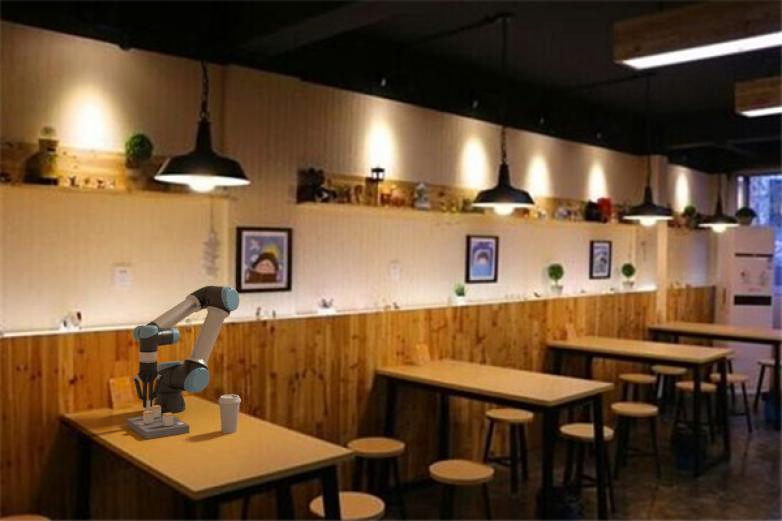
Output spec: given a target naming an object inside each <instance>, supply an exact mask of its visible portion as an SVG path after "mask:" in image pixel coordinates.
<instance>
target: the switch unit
mask: <svg viewBox="0 0 782 521" xmlns="http://www.w3.org/2000/svg"><path fill="white" fill-rule="evenodd" d="M126 427H128V428H130V429H131V430H132V431H134V432H136V433H137V434H138V435H139V436H141V437H142V438H144V439H146V440H152V439H158V438H163V437H164V438H165V437H166V438H167V437H171V436H177V435H183V434H184V435H185V434H189V433H190V425H189V424H187V423H185V422H184V421H182V420H180V419H179V418H177V417H175V416H174V415H173V425H171V426H165V425H163V413H161V417H157V418H154V423H149V424H145V423H144V422H143V415H142V416H136V417H128V418H126Z"/></svg>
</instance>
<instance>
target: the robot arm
mask: <svg viewBox="0 0 782 521" xmlns="http://www.w3.org/2000/svg"><path fill="white" fill-rule="evenodd" d="M239 295H240V294H239V293H238V291H237V290H236V288H234V287H231V286H219V285H205V286H203V287H201V288H198V289H197V290H195V291H193V292H191V293H190V294H188V295H186V297H185V299H184V300H183V301H181V302H179V303H178V304H176V305H175V306H173V307H172V308H170V309H168V310H167V311H165V312H164V313H162V314H160V315H159V316H157V317H156V318H154V319H153V320H151V321H150V322H147V324H145V325H143V324H141V325H137V326H135V328H134V329H133V332H132V337H133V339H134V340H135V341H137V342H138V343H139V350H138V351H139V352H138V353H139V355H138V358H139V359H138V360H139V363H138V374H137V375H136V377H132V381H133V383H134V385H135V390H136V393H137V397H138V399H139V400H142V408H144V411H150V410H151V407H152V406H154V405H159V406H161V414H163V413H172V414H174V413H180V412H184V411H185V410H186V402H185V398H184V396H183V391H184V392H187V393H200V392H202V391H203V390H205V389H206V387H207V386H208V385H209V382H210V372H209V371H208V370H209V366H208V361H209V358H211V357H210V356H211V353H212V351H213V349H214V346H215V344H216V341H217V338H218V337H219V333H220V331H221V328H222V326H223V323H224V321H225V319H226V318H229V316H230V315H231V313H232V312H235V311H236V310H237V309H238V307H239V305H240V296H239ZM203 310H206V311H207V313H206V317H205V318H204V321H203V322H202V327H201V328H200V331H199V334H198V335H197V338H196V340H195V342H194V345H193V347H192V350H191V352H190V355H189V357H187V358H184V361H182V360H173V361H165V362H160V363H159V364H158V347H161V346H162V347H163V346H168V345H169V346H170V345H171V346H172V345H174V344H177V343H178V342H179V340H180V339H181V338H180V337H181V334H180V331H179V329H178V328H176V327H174V326H176V325H177V324H179V323H180V322H182V321H183V320H184V319H186V318H187V317H189V316H190V315H192V314H193V313H198V312H200V311H203ZM140 381H141V382H142V389H141V384H140ZM154 381H155V383H154ZM154 384H155V385H154ZM153 400H154V401H153Z"/></svg>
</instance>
